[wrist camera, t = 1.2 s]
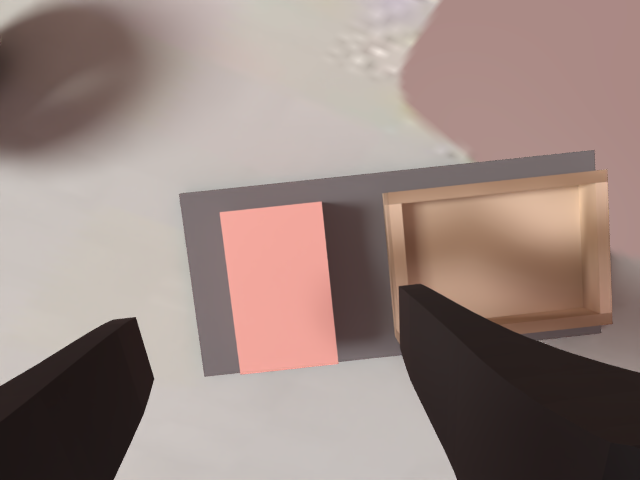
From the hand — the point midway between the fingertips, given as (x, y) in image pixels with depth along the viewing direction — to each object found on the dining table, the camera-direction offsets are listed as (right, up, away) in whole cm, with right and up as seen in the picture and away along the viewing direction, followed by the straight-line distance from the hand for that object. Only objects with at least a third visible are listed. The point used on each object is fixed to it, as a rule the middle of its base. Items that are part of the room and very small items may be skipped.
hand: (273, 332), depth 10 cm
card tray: (+10, +2, +10) cm, 14 cm away
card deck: (-1, +1, +10) cm, 10 cm away
